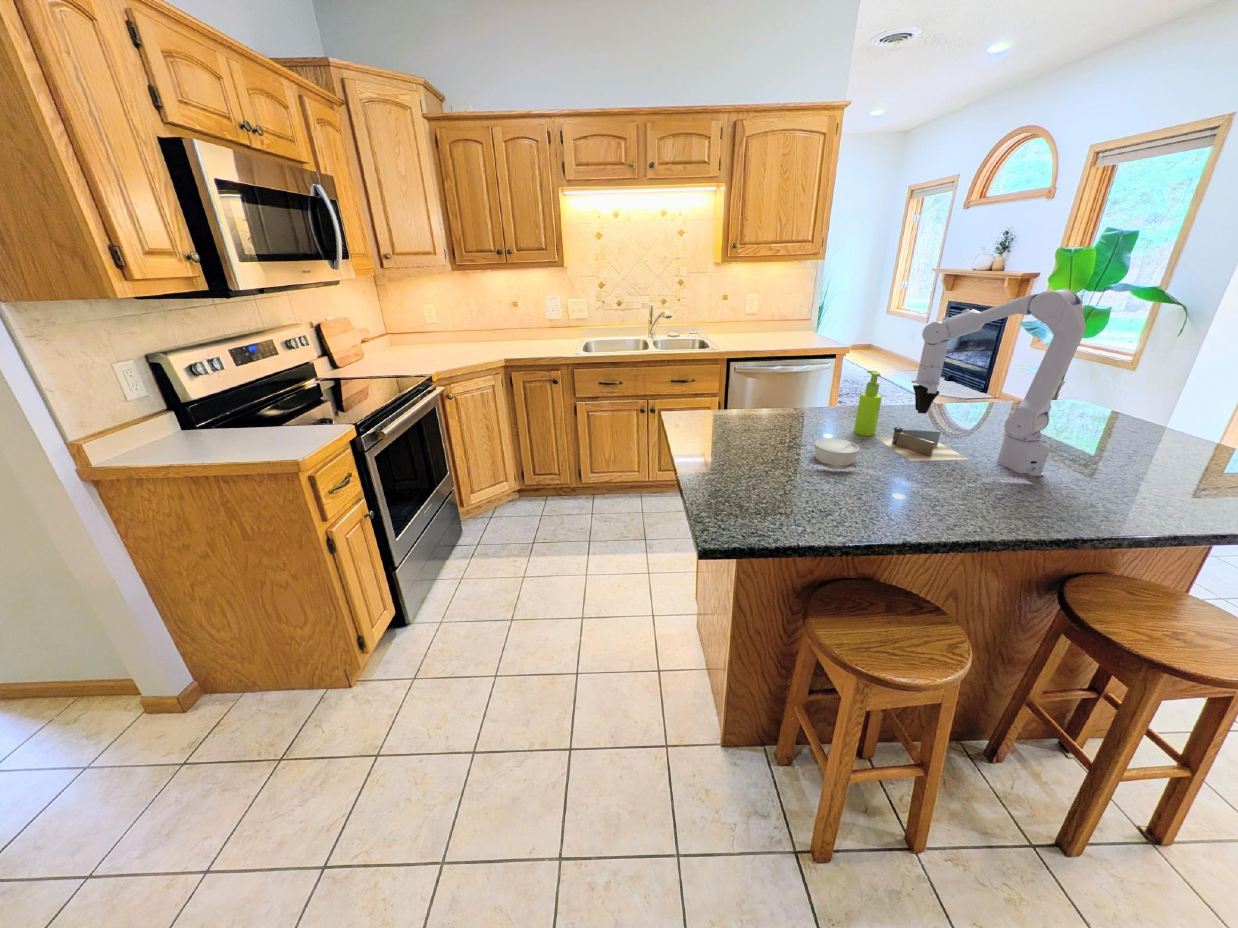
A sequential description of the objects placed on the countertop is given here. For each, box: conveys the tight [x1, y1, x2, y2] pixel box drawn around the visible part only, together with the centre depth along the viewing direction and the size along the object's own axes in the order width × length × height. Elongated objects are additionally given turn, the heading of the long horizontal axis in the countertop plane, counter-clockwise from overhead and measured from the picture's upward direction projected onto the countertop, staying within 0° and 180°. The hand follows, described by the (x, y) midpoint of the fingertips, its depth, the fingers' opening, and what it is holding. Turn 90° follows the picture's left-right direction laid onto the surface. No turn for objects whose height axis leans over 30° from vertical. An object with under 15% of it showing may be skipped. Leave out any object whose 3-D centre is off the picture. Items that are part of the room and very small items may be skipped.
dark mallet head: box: [892, 426, 935, 457], centre depth 140 cm, size 12×2×5 cm, turn 27°
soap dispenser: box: [853, 370, 883, 436], centre depth 151 cm, size 6×7×20 cm
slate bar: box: [901, 428, 941, 445], centre depth 143 cm, size 10×1×4 cm, turn 77°
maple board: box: [874, 436, 970, 462], centre depth 142 cm, size 19×16×1 cm
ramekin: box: [813, 437, 860, 470], centre depth 135 cm, size 11×11×5 cm
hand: (920, 411), depth 146 cm, fingers open, 3 cm apart
